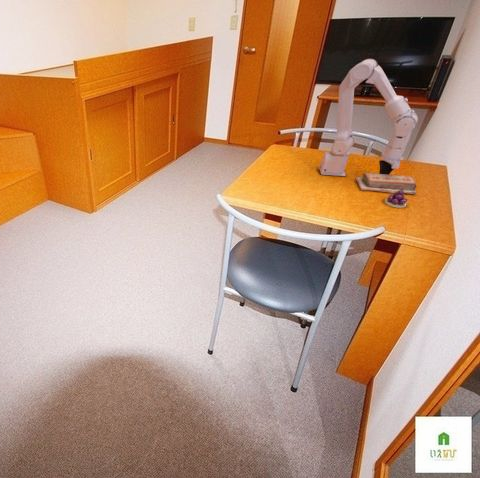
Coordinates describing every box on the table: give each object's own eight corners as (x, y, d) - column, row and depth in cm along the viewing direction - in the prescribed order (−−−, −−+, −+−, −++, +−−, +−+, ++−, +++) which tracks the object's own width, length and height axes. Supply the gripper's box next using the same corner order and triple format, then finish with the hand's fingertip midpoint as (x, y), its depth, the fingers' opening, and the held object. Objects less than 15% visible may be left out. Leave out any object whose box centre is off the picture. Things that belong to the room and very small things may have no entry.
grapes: (387, 206, 117) (395, 190, 113) (382, 198, 121) (389, 182, 118) (408, 208, 115) (417, 192, 111) (402, 200, 119) (410, 184, 116)
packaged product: (412, 173, 127) (421, 183, 119) (406, 184, 129) (415, 195, 122) (359, 169, 132) (365, 179, 125) (355, 180, 135) (360, 190, 128)
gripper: (415, 153, 117) (399, 187, 125) (402, 140, 128) (388, 172, 136) (392, 152, 119) (377, 185, 127) (381, 140, 130) (368, 171, 138)
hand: (381, 178), depth 132 cm, fingers closed
